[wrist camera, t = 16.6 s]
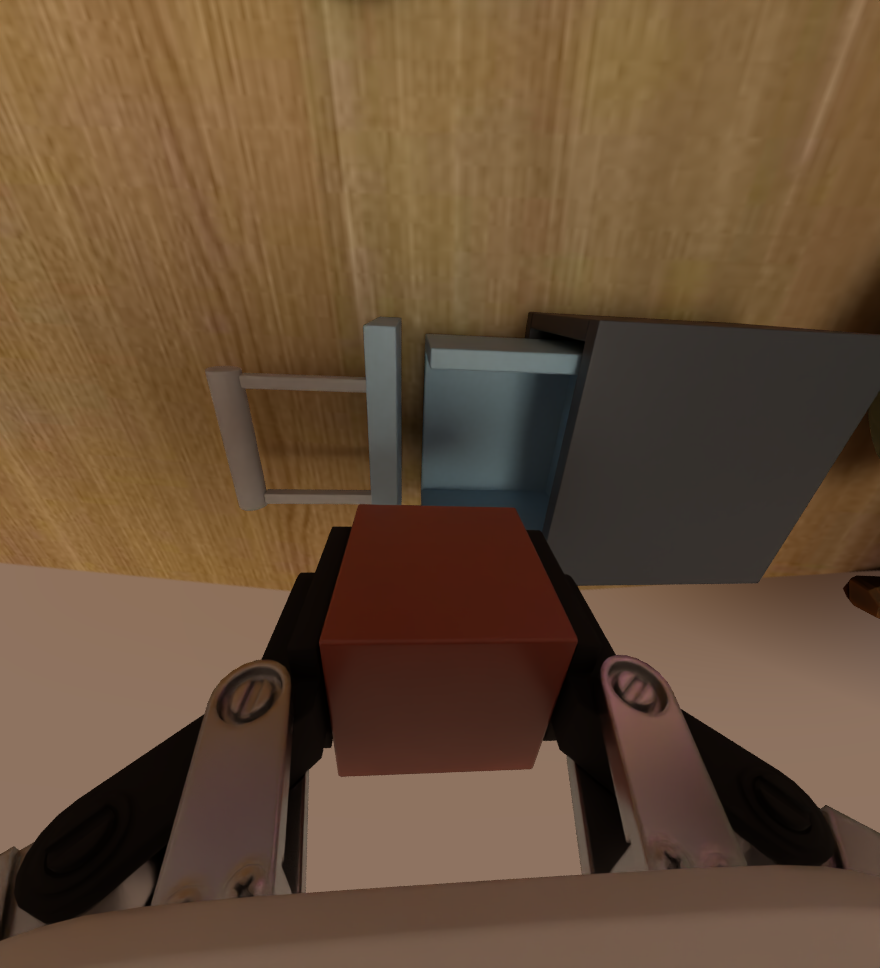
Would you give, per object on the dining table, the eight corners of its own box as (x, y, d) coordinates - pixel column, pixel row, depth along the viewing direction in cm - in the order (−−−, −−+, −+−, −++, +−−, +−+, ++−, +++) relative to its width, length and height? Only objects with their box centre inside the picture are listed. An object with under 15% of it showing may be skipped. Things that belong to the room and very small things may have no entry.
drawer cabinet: (499, 501, 26) (536, 586, 18) (528, 311, 20) (600, 319, 12) (660, 503, 27) (758, 583, 19) (732, 323, 21) (914, 336, 13)
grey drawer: (275, 499, 23) (228, 568, 17) (238, 309, 18) (151, 314, 12) (546, 501, 25) (588, 565, 19) (585, 327, 20) (661, 339, 14)
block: (364, 617, 12) (337, 778, 8) (357, 502, 10) (316, 643, 6) (495, 617, 12) (533, 770, 8) (516, 506, 10) (580, 640, 6)
